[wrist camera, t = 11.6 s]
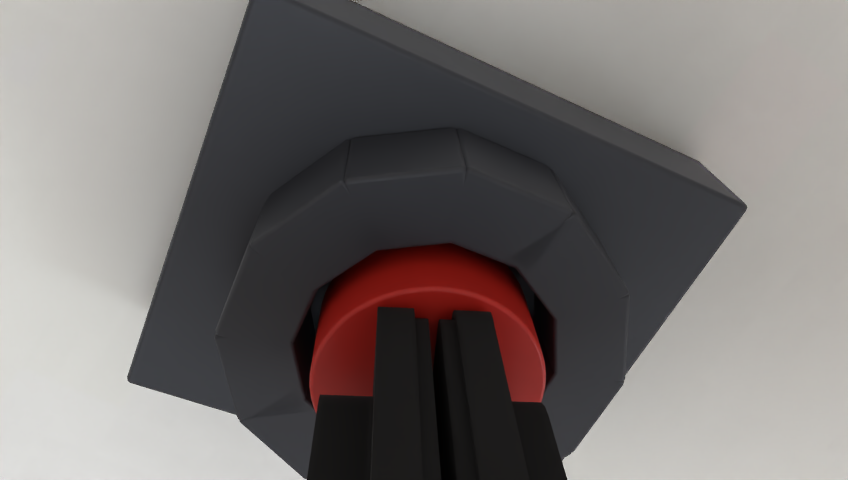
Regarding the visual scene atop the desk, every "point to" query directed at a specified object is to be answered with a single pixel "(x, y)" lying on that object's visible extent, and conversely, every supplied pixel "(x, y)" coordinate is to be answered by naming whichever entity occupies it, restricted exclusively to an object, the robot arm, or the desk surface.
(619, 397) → the desk surface
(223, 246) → the dark grey squat piece
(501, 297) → the red short cylinder
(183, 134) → the desk surface
